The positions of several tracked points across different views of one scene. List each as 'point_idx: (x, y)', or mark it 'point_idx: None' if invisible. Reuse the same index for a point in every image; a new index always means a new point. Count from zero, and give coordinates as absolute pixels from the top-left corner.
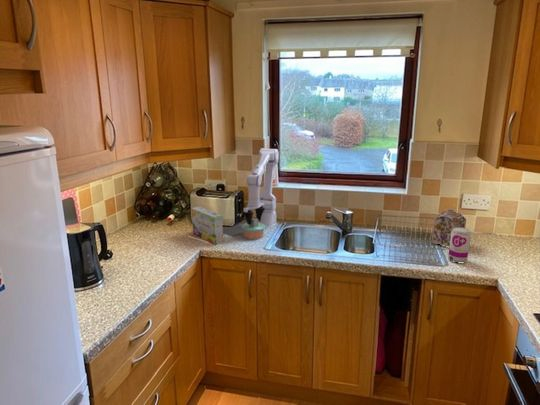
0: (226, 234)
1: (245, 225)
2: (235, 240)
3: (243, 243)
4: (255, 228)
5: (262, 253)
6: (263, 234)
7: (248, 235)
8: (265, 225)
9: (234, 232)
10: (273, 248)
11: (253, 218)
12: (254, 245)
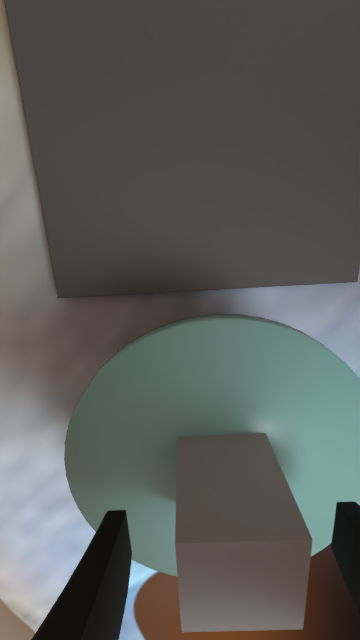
0: (40, 185)
1: (169, 388)
2: (30, 353)
3: (39, 440)
4: (170, 532)
5: (24, 604)
6: None
7: None
8: (330, 542)
9: (147, 202)
10: (128, 602)
11: (262, 576)
12: (74, 510)
